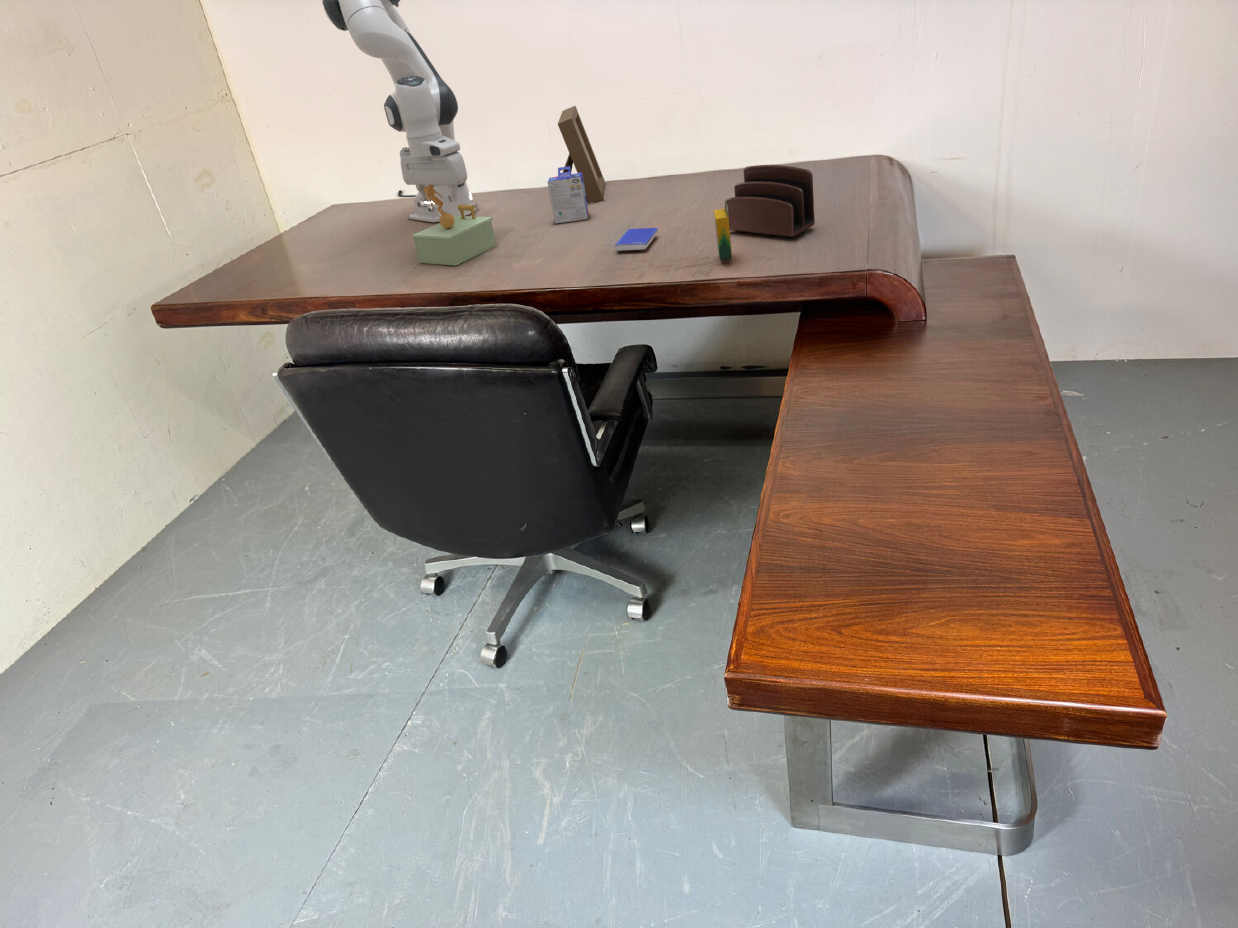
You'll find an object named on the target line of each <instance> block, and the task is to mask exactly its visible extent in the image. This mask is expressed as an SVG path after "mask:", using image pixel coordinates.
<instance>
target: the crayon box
mask: <svg viewBox="0 0 1238 928" xmlns="http://www.w3.org/2000/svg"><path fill="white" fill-rule="evenodd" d="M725 206H726V208H725ZM713 215H714V216H713V217H714V223H715V224H714V225H715V235H716V236H715V237H716V246H717V252H718V257H719V261H727V260H732V259H733V252H732V251H733V250H732V241H731V230H730V228H729V215H728V207H727V204H726V201H725V200H724V208H719V209H714V210H713Z"/></svg>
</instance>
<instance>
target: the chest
mask: <svg viewBox="0 0 1238 928" xmlns="http://www.w3.org/2000/svg"><path fill="white" fill-rule="evenodd" d="M495 236H496V235H495V231H494V227H493V223H492V221H490V222H487V223H485V224H483V225H481V226H479V227H477V228H474V229H472V230H470V231H468V232H466V233H463V234H461V235H459V236H457V237H455V238H453V239H450V240H444V239H425V238H413V237H412V239H413V243H414V247H415V251H416V254H417V258H418V263H419V264H430V265H445V266H458V265H460V264H462V263H465V262H466V261H468V260H470V259H472V258H474V257H476V256H478V255H481V254H482V253H484V252H486V251H488V250H490V249H492V248H495V247H496V246H497V241H496V237H495Z"/></svg>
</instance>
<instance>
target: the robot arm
mask: <svg viewBox="0 0 1238 928" xmlns="http://www.w3.org/2000/svg"><path fill="white" fill-rule="evenodd" d="M400 1H401V0H322V2H321V3H322V6H323V10H324V13H325V16H326V17H327V19H328V20H329V21H330V23H331V24H332V25H333V26H334V27H336V29H338V30H340V31H342V32H346V31H348V33H349V35H350V37H351V39H352V41H353V42H354V44H355V46H356V47H357V48H358V49H359V50H360V51H361V52H362V53H364V54H365V55H367V56H369V57H372V58H375V59H380V60H381V61H382V63H383V65H384V67H385V68H386V70H387V72H388V74H389V75H390V77H391V80H392V82H393V84H394V88H395V91H394V92H393V93H391V94H388V96H387V98H386V100H385V102H384V103H383V109H384V112H385V116H386V119H387V120H386V121H387V123H388V126H389V127H390V128H393V130H395V131H397V132H399V133H400V132H401V133H405V136H406V141H407V145H408V147H406V146H404V147H402V148H401V149H400V152H399V158H400V161H399V162H400V170H401V175H402V179H403V182H404V183H405V184H406V185H407V186H415V188H416V190H417V191H418V192H417V193H416V194H410V195H409V194H407V195H406V194H405V195H403V194H402V193H403V190H401V189H400V190H398V193H397V195H398V197H399V198H413V205H414V210H415V211H414V212H412V213H411V214H409V219H410V220H415V221H421V222H429V223H440V221H439V219H440V216H441V214H440V213H439V212H438V209H437V208H438V207H439V206H437V205H436V204H433V205H431V203H430V202H429V200H428V199H427V197H426V193H425V191H424V188H425V187H426V186H429V185H433V186H434V187H433V189H434V190H435V191H437V192H438V193H439V194H440V195H441V196H442V197H443V198H441V196H440V195H438V194H437V193H435V196H436V197H437V198H438V199H439V200H441V201H442V202H443V206H442V208H441V209H442V210H443V211H444V212H447V213H449V214H451V215H452V216H453V217H455V216H461V213H460V211H459V210H458V205H474V206H475V210H474V212H476V211H477V207H476V203H475V202H474V201H473V196H472V193H471V192H470V189H469V187H468V184H467V183H468V182H467V180H468V172H467V168H466V164H465V159H464V157H463V156H462V154H461V152H459V151H460V150H461V145H460V142H459V141H457V140H456V135H455V124H454V122H455V121H454V119H455V118H456V116H457V114H458V112H459V104H458V100H457V97H456V95H455V94H454V91H453V90H452V88H451V87H450V86H449V85H448V84H447V83H446V82H445V81H444V80H443V78H442V77H441V75H440V74H439V72H438V71H437V69H436V68H435V66H434V64H433V63H432V61H431V60H430V58H429V57H428V55H427V54H426V53H425V50H423V48H422V46H420V43H418V41H417V39H416V38H415V37H414V36H413V35H412V33H411V31H410V30H409V28H408V26H407V24H406V23H405V20H404V19H403V18H402V16H401V15H400V13H399V11H398V10H397V8H399V6H400V5H399V3H400ZM428 197H429V196H428ZM429 199H430V200H431V202H432V199H431V198H430V197H429ZM432 203H433V202H432ZM432 206H433V207H432ZM468 215H471V211H464V216H468Z"/></svg>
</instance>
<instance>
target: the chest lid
mask: <svg viewBox="0 0 1238 928" xmlns="http://www.w3.org/2000/svg"><path fill="white" fill-rule="evenodd" d="M475 207H476V205H475V206H474V205H458V210H459V211H460V213H461V216H455V217H454V219H455V223H454V225H453V227H451V228H449V229H446V228H444V227H442V226H441V224H440V222H438V223H437V224H435V225H432V226H430V227H428V228H425V229H423V230H420V231H418V232H416V233H414V234H412V239H413V238H425V239H444V240H450V239H453V238H455V237H457V236H459V235H461V234H463V233H466V232H468V231H470V230H472V229H474V228H477V227H479V226H481V225H483V224H485V223H487V222H490V221H491V222H492V221H494V217H493V216H476V214H475V213H476V212H475V211H474V210H475ZM464 211H471V214H470V215H469V216H468V215H465V216H464Z"/></svg>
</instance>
